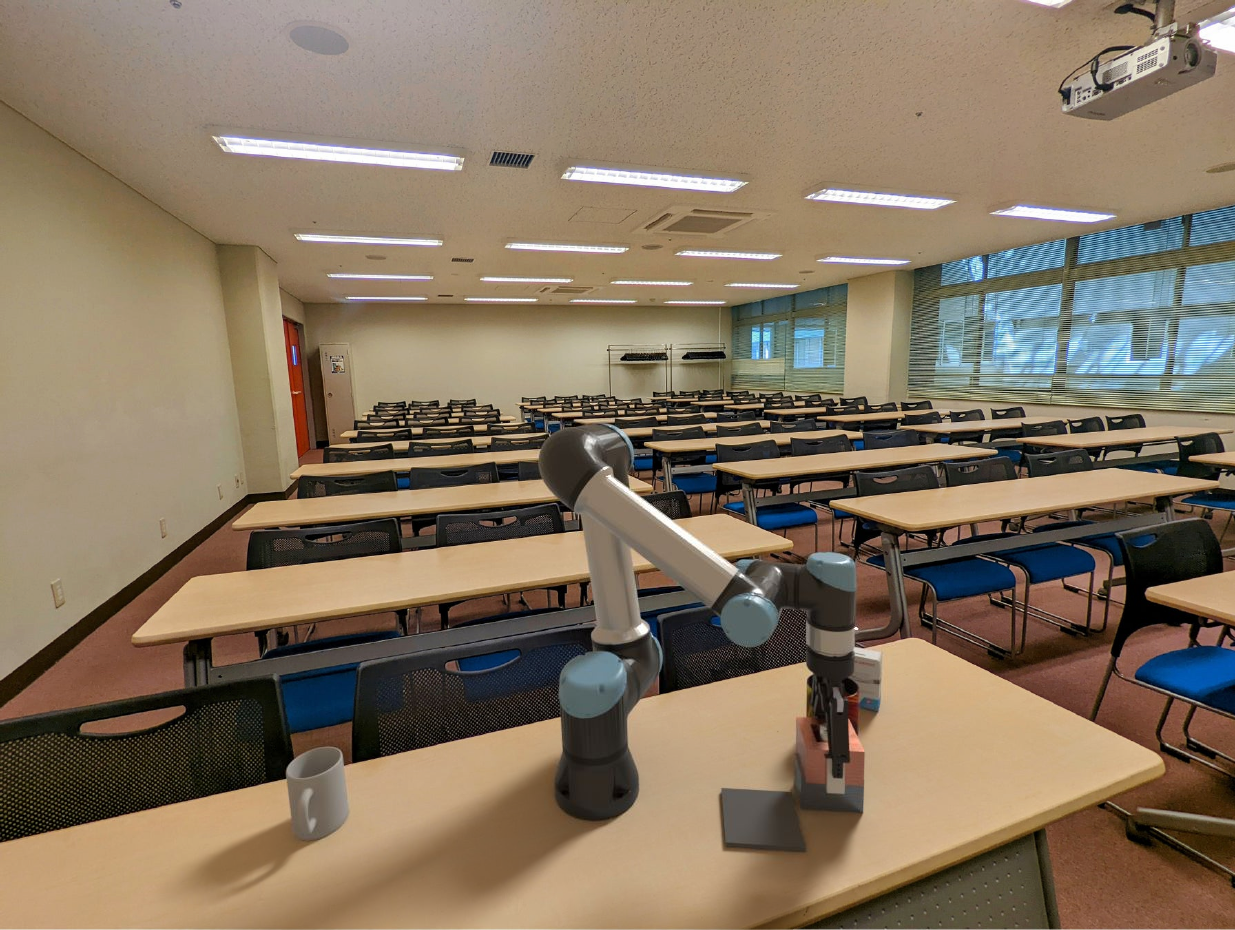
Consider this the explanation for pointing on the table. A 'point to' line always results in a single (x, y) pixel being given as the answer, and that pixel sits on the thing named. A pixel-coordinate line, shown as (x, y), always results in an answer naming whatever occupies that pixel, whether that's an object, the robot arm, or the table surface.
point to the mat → (761, 820)
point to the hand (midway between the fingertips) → (827, 771)
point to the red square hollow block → (814, 752)
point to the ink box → (868, 677)
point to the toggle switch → (816, 794)
